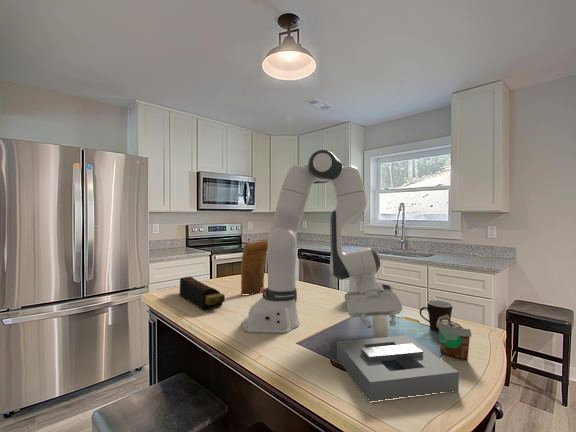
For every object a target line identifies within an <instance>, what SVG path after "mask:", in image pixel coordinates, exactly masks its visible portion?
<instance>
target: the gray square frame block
mask: <svg viewBox="0 0 576 432" xmlns="http://www.w3.org/2000/svg"><path fill="white" fill-rule="evenodd" d="M401 344H414V345H415V346H416V347H418V348H419V349H420V350H422V351H423V357H417V358H407V359H397V360H395V361H396V362H397V363H398V364H399V365H400V366H401V367H403V369H399V370H389V369H388V368H387V367H386V366H385V365H384V364H383V362H382V361H378V362H369V361H368V360H367V359H366V358H365V357H364V356H363V355H362V354H361V348H368V347H379V346H390V345H401ZM336 358H337V360H338V361H339V363H340V364H341V365H342V366H343V368H344V369H345V371H346V372H347V374H348V375H349V376H350V378H351V379H352V380H353V382H354V383H355V385H356V386H357V387H358V389H359V388H360V389H359V391H361V393H362V392H363V393H364V394H363V393H362V394H363V395H364V397H365V396H366V397H367V398H368V399H369V401H370V402H371V401H378V400H385V399H393V398H399V397H408V396H416V395H425V394H432V393H440V392H452V391H459V388H460V386H459V384H460V383H459V382H460V379H459V377H460V371H458V370H457V369H455V368H454V367H453V366H451V365H450V364H448V363H447V362H446V361H444V360H442V359H441V358H440V357H438V356H437V355H435V354H434V353H433V352H432V351H430V350H428V349H427V348H426V347H424V346H423V345H421V344H420V343H419V342H417V341H416V340H414V339H413V338H412V337H410V336H409V335H399V336H398V335H397V336H388V337H383V338H373V337H372V338H362V339H359V338H358V339H348V340H339V341H336ZM452 393H453V392H452ZM366 397H365V398H366ZM367 398H366V399H367ZM369 401H368V402H369ZM370 402H369V403H370Z"/></svg>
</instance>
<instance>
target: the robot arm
mask: <svg viewBox="0 0 576 432" xmlns="http://www.w3.org/2000/svg"><path fill="white" fill-rule="evenodd" d="M307 163H308V164H306V165H303V164H294V165H292V166H290V167H289V169H288V171H287V173H286V175H285V177H284V180H283V183H282V186H281V189H280V193H279V196H278V200H277V202H276V203H277V204H276V207H275V211H274V216H273V218H272V223H271V227H270V229H269V234H268V237H267V242H268V249H267V287H266V288H265V286H264V287H262V288H261V292H260V293H262V298H260V299H259V300H258V301H256V302H255V303H254V304H253V305H251V306H250V309H249V311H248V316H246V317H244V319H243V320H242V329H243V330H244V331H245V332H247V333H265V334H266V333H272V334H275V333H276V334H277V333H280V334H282V333H287V334H288V333H289V332H290V331H291V330H293V329H295V328H297V327H299V325H300V320H299V316H298V310H297V300H298V290H297V288H296V282H297V281H296V279H297V278H296V277H297V276H296V273H297V272H296V271H297V270H296V269H297V268H296V267H297V248H298V247H297V245H298V243H297V241H298V240H297V235H298V231H299V228H300V224H301V222H302V219H303V216H304V213H305V209H306V206H307V202H308V199H309V194H310V190H311V188H312V186H313V184H326V183H331V184H332V186H333V188H334V192H335V199H336V205H335V209H334V210H333V211H331V213H330V234H329V235H330V259H329V270H330V273H331V274H332V276H333V277H335V278H336V279H338V280H341V281H343V280H346V279H350V277H352V278H353V280H354V282H355V288H356V291H357V292H349V291H348V292H346V293H345V294H344V300H345V303H346V305H347V313H348V315H349V316H350V317H351V318H359V319H360V321H361V322H362V323H363V324H364V325H365V329H370V328H372V324H371V323H372V322H371V320H369V321H368V319H367V318H366V317H373V315H374V314H384V315H387V316H388V317H390V318H391V319H390V320H388V324H389V325H390V327H395V326H396V325H397V322H396V320H395V319H396V315H399V314H400V313H402V310H403V305H402V302H401V301H400V298H399V296H398V294H396V293H395V292H394V288H393V285H391V284H386V283H383V282H379V281H378V279H377V278H376V277H375V276H376V274H377V272H378V271H379V269H380V268H381V260H380V257H379V254H378V253H377V251H376V250H374V248H372V247H364V248H358V249H357V248H356V249H355V250H354V249H353V250H350V251H349V250H348V251H343V246H342V245H343V242H342V241H343V240H342V238H343V237H342V234H343V233H342V232H343V228H344V227H345V226H346V224H348V223H349V222H351V221H353V220H354V219H355V218H357V217H358V216H360V215H361V214H362V213H363V212H364V211H365V209H366V207H367V196H366V190H365V186H364V182H363V179H362V176H361V174H360V171H359V170H358V168H357V167H355V166H354V165H343V164H342V162H341V161H340V159H338V158H337V156H336V155H335V154H334V153H333V152H331V151H329V150H327V149H319V150H316V151H314V152H313V153H312V154H311V156H310V157H309V159H308V162H307Z"/></svg>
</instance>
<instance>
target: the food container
mask: <svg viewBox="0 0 576 432" xmlns="http://www.w3.org/2000/svg"><path fill="white" fill-rule="evenodd" d="M437 327H438V328H439V332H438V333H439V335H438V336H439V350H440V352H441V354H443V356H446V357H448V358H450V357H451V358H450V359H453V358H454V360H457V359H458V360H459V361H468V360H469V359H468V358H469V350H470V339H471V338H472V331H471V329H470V328H464V327H462V325H460V324H459V323H457V322H454V321H452V320H451V319H450V320H449V319H447V316H442V317H439V319H438V321H437ZM470 337H471V338H470Z"/></svg>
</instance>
